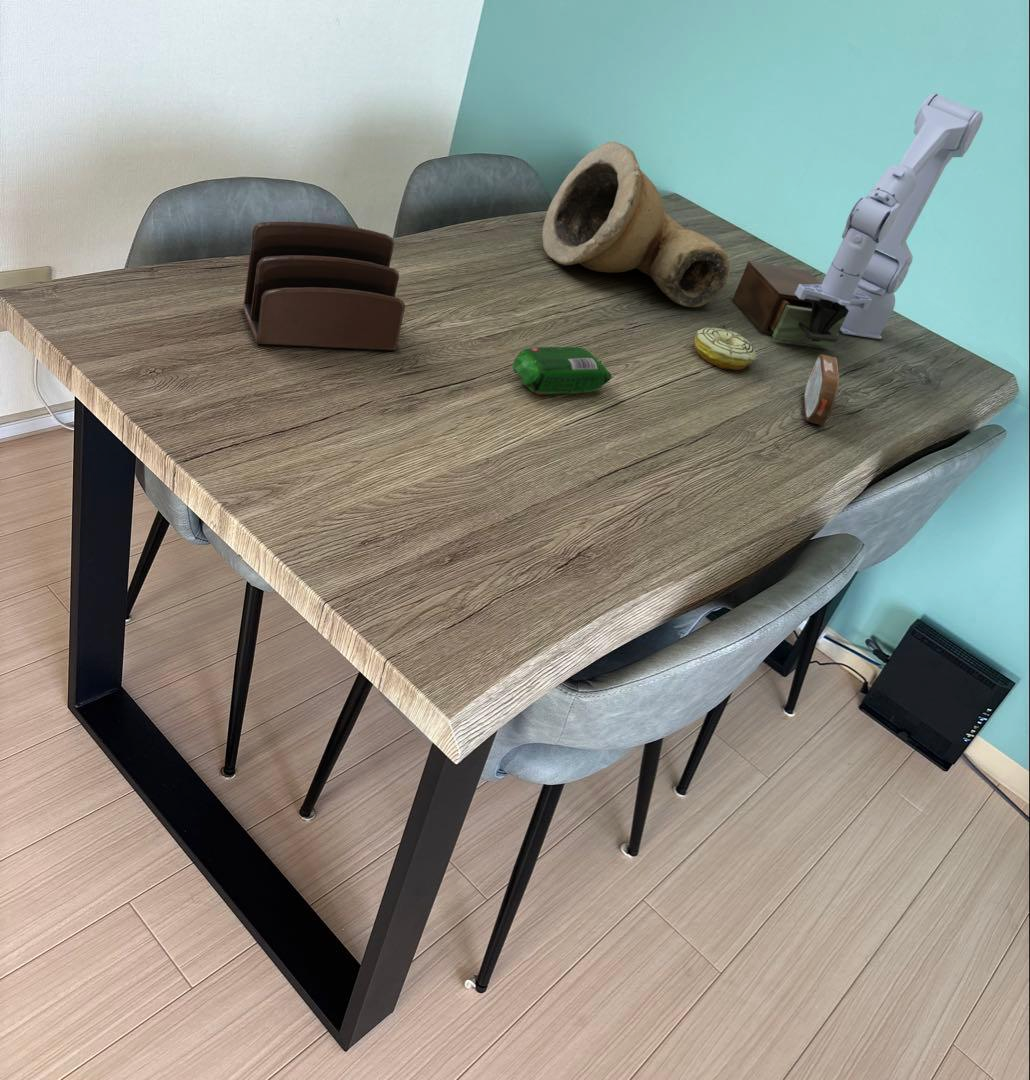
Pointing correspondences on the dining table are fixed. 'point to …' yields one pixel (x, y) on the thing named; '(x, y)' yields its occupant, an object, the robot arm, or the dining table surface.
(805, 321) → the drawer
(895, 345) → the dining table surface
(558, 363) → the snack package
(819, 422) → the tin
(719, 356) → the decorated donut
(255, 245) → the letter holder
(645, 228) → the pipe
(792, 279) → the cabinet
